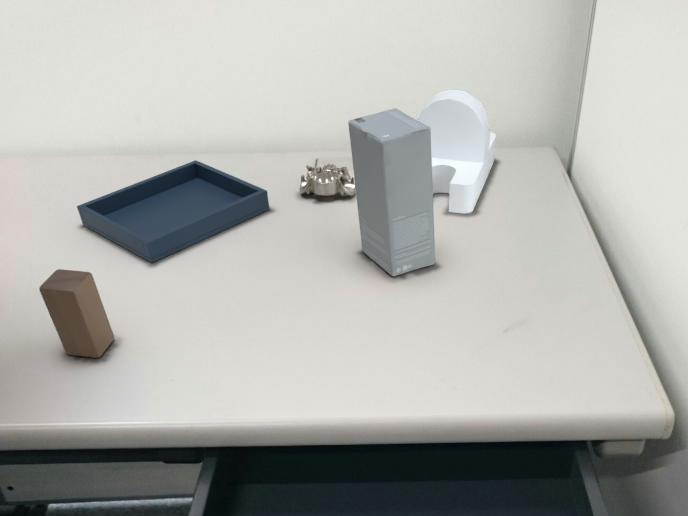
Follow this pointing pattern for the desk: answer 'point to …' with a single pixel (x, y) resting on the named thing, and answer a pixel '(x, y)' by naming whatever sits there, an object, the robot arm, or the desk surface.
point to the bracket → (459, 147)
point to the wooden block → (77, 312)
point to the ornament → (327, 181)
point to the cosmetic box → (394, 190)
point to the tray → (173, 210)
